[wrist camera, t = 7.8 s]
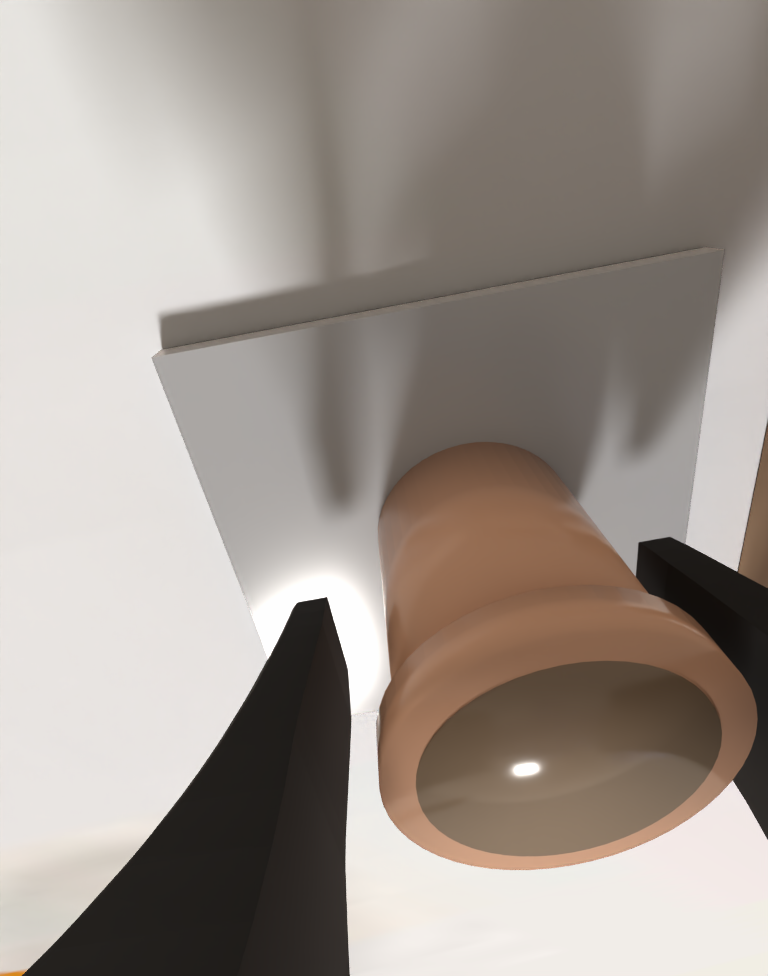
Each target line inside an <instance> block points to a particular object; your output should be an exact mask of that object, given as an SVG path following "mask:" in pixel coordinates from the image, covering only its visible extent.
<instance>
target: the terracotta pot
mask: <svg viewBox="0 0 768 976" xmlns="http://www.w3.org/2000/svg"><path fill="white" fill-rule="evenodd" d="M377 530H378V549H379V560H380V570H381V580H382V591H383V601H384V612H385V622H386V633H387V643H388V653H389V664H390V674H391V682H390V683H389V685H388V687H387V689H386V690H385V693H384V695H383V698H382V701H381V703H380V706H379V710H378V716H377V721H376V736H377V754H378V771H379V788H380V794H381V798H382V802H383V805H384V807H385V809H386V811H387V813H388V816H389V817H390V819H391V820H392V821H393V823H394V824H395V825H396V827H397V828H398V829H399V830H400V831H401V832H402V833H403V834H404V835H405V836H406V837H407V838H409V839H410V840H411V841H413V842H414V843H416V844H417V845H419V846H420V847H422V848H423V849H425V850H428V851H430V852H432V853H434V854H436V855H438V856H441V857H443V858H446V859H449V860H452V861H455V862H459V863H463V864H467V865H471V866H477V867H484V868H490V869H504V870H534V869H547V868H556V867H563V866H570V865H575V864H580V863H585V862H589V861H594V860H597V859H601V858H604V857H608V856H612V855H615V854H618V853H620V852H623V851H626V850H629V849H632V848H634V847H637V846H639V845H641V844H644V843H646V842H648V841H651V840H653V839H655V838H657V837H659V836H661V835H663V834H664V833H666V832H668V831H670V830H672V829H674V828H675V827H677V826H679V825H680V824H682V823H683V822H685V821H687V820H688V819H690V818H691V817H692V816H694V815H695V814H697V813H698V812H699V811H701V810H702V809H703V808H705V807H706V806H707V805H708V804H709V803H710V802H711V801H713V800H714V799H715V798H716V797H717V796H718V795H719V794H720V793H721V792H722V791H723V790H724V789H725V788H726V787H727V786H728V785H729V783H730V782H731V781H732V780H733V779H734V777H735V776H736V775H737V773H738V772H739V770H740V769H741V767H742V766H743V764H744V762H745V760H746V759H747V757H748V755H749V753H750V751H751V748H752V745H753V742H754V739H755V736H756V729H757V720H758V718H757V707H756V702H755V699H754V696H753V693H752V690H751V688H750V686H749V685H748V683H747V682H746V680H745V678H744V677H743V675H742V674H741V673H740V671H739V670H738V669H737V668H736V667H735V665H734V664H733V663H732V662H731V661H730V659H729V658H728V657H727V656H726V655H725V653H724V652H723V651H722V650H721V649H720V647H719V646H718V645H717V644H716V643H715V641H714V640H713V639H712V638H711V637H710V635H709V634H708V633H707V632H706V631H705V629H704V628H703V627H702V626H701V625H700V624H699V623H698V622H697V621H696V620H695V619H694V618H693V617H692V616H691V615H689V614H688V613H686V612H685V611H683V610H682V609H681V608H679V607H678V606H676V605H674V604H672V603H670V602H668V601H666V600H664V599H662V598H660V597H657V596H654V595H651V594H649V593H648V592H647V591H646V590H645V588H644V587H643V586H642V584H641V583H640V582H639V580H638V579H637V578H636V576H635V575H634V574H633V573H632V571H631V570H630V569H629V567H628V566H627V565H626V563H625V562H624V561H623V560H622V558H621V557H620V556H619V554H618V553H617V552H616V550H615V549H614V548H613V546H612V545H611V544H610V543H609V541H608V540H607V539H606V537H605V536H604V535H603V533H602V532H601V531H600V529H599V528H598V527H597V526H596V524H595V523H594V522H593V520H592V519H591V518H590V516H589V515H588V514H587V513H586V511H585V510H584V509H583V507H582V506H581V505H580V503H579V502H578V501H577V499H576V498H575V497H574V496H573V494H572V493H571V492H570V490H569V489H568V488H567V486H566V485H565V484H564V483H563V481H562V480H561V479H560V477H559V476H558V475H557V473H556V472H555V471H554V470H553V469H552V468H551V467H550V466H549V465H548V464H547V463H546V462H545V461H543V460H542V459H541V458H539V457H538V456H536V455H535V454H533V453H531V452H529V451H527V450H525V449H522V448H519V447H517V446H513V445H509V444H504V443H496V442H474V443H468V444H461V445H458V446H454V447H450V448H447V449H445V450H442V451H440V452H437V453H435V454H433V455H431V456H429V457H428V458H426V459H424V460H422V461H421V462H419V463H418V464H417V465H415V466H414V467H412V468H411V469H410V470H409V471H408V472H407V473H406V474H405V475H404V476H403V477H402V478H401V479H400V480H399V481H398V482H397V484H396V485H395V486H394V487H393V489H392V490H391V492H390V493H389V495H388V497H387V499H386V501H385V503H384V505H383V507H382V510H381V514H380V517H379V522H378V529H377Z"/></svg>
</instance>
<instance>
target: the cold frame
mask: <svg viewBox="0 0 768 976" xmlns="http://www.w3.org/2000/svg"><path fill="white" fill-rule="evenodd" d="M738 573H740V574H742V575H744V576H746V577H747V578H749V579H751V580H753V581H755V582H757V583H759V584H761V585H763V586H765V587H766V588H768V426H767V431H766V436H765V441H764V446H763V451H762V456H761V461H760V466H759V471H758V476H757V481H756V486H755V491H754V496H753V501H752V506H751V511H750V515H749V520H748V525H747V530H746V535H745V540H744V545H743V550H742V555H741V560H740V565H739V570H738Z"/></svg>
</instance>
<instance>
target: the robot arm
mask: <svg viewBox="0 0 768 976" xmlns="http://www.w3.org/2000/svg"><path fill="white" fill-rule="evenodd" d="M636 578H637V579H638V580H639V582H640V583H641V584H642V586H643V587H644V588H645V590H646V591H647V592H648V593H649V594H651V595H654V596H657V597H660V598H662V599H664V600H666V601H668V602H670V603H672V604H674V605H676V606H678V607H679V608H681V609H682V610H683V611H685V612H686V613H688V614H689V615H691V616H692V617H693V618H694V619H695V620H696V621H697V622H698V623H699V624H700V625H701V626H702V627H703V628H704V629H705V631H706V632H707V633H708V634H709V635H710V637H711V638H712V639H713V640H714V641H715V643H716V644H717V645H718V646H719V647H720V649H721V650H722V651H723V652H724V653H725V655H726V656H727V657H728V658H729V659H730V661H731V662H732V663H733V664H734V665H735V667H736V668H737V669H738V670H739V671H740V673H741V674H742V675H743V677H744V678H745V680H746V682H747V683H748V685H749V686H750V688H751V690H752V693H753V696H754V699H755V702H756V707H757V718H758V720H757V729H756V736H755V739H754V742H753V745H752V748H751V751H750V753H749V755H748V757H747V759H746V760H745V762H744V764H743V766H742V767H741V769H740V770H739V772H738V773H737V775H736V776H735V777H734V779H733V781H734V783H735V785H736V786H737V788H738V789H739V791H740V792H741V794H742V796H743V797H744V799H745V800H746V802H747V804H748V805H749V807H750V809H751V811H752V812H753V814H754V816H755V818H756V820H757V821H758V823H759V825H760V827H761V829H762V830H763V832H764V834H765V836H766V837H767V839H768V588H766V587H765V586H763V585H761V584H759V583H757V582H755V581H753V580H751V579H749V578H747V577H746V576H744V575H742V574H740V573H738V572H736V571H734V570H733V569H731V568H729V567H727V566H725V565H723V564H721V563H720V562H718V561H716V560H714V559H712V558H710V557H708V556H707V555H705V554H703V553H701V552H699V551H697V550H695V549H693V548H691V547H690V546H688V545H686V544H684V543H682V542H680V541H678V540H676V539H674V538H672V537H666V538H660V539H654V540H649V541H643V542H639V543H638V555H637V567H636ZM350 738H351V704H350V688H349V673H348V667H347V663H346V660H345V656H344V653H343V649H342V646H341V642H340V639H339V635H338V632H337V628H336V625H335V622H334V618H333V615H332V611H331V608H330V604H329V601H328V597H324V598H318V599H313V600H307V601H301V602H297V603H296V605H295V606H294V607H293V609H292V611H291V613H290V615H289V618H288V620H287V622H286V624H285V626H284V628H283V630H282V632H281V634H280V636H279V638H278V640H277V642H276V644H275V646H274V648H273V650H272V652H271V654H270V656H269V658H268V660H267V662H266V664H265V666H264V667H263V669H262V671H261V673H260V675H259V676H258V678H257V680H256V682H255V684H254V686H253V687H252V689H251V691H250V693H249V695H248V696H247V698H246V700H245V701H244V703H243V705H242V706H241V708H240V709H239V711H238V713H237V714H236V716H235V718H234V719H233V721H232V722H231V724H230V726H229V727H228V729H227V731H226V732H225V734H224V735H223V737H222V739H221V740H220V742H219V743H218V745H217V746H216V748H215V749H214V751H213V752H212V754H211V755H210V757H209V758H208V759H207V761H206V762H205V764H204V765H203V767H202V768H201V770H200V771H199V772H198V774H197V775H196V776H195V778H194V779H193V781H192V782H191V783H190V785H189V786H188V788H187V789H186V790H185V792H184V793H183V794H182V796H181V797H180V798H179V800H178V801H177V802H176V803H175V805H174V806H173V807H172V808H171V810H170V811H169V812H168V814H167V815H166V816H165V817H164V819H163V820H162V821H161V823H160V824H159V825H158V826H157V828H156V829H155V830H154V831H153V833H152V834H151V835H150V836H149V838H148V839H147V840H146V841H145V843H144V844H143V845H142V846H141V847H140V849H139V850H138V851H137V852H136V853H135V855H134V856H133V857H132V858H131V859H130V860H129V862H128V863H127V864H126V865H125V866H124V867H123V868H122V870H121V871H120V872H119V873H118V874H117V875H116V876H115V877H114V879H113V880H112V881H111V882H110V883H109V884H108V885H107V886H106V887H105V889H104V890H103V891H102V892H101V893H100V894H99V895H98V896H97V897H96V899H95V900H94V901H93V902H92V903H91V904H90V905H89V906H88V908H87V909H86V910H85V911H84V912H83V913H82V914H81V915H80V916H79V918H78V919H77V920H76V921H75V922H74V923H73V924H72V925H71V926H70V927H69V928H68V929H67V930H66V932H65V933H64V934H63V935H62V936H61V937H60V938H59V939H58V940H57V941H56V942H55V943H54V944H53V945H52V946H51V947H50V948H49V949H48V950H47V951H46V952H45V953H44V954H43V955H42V956H41V957H40V958H39V959H38V960H37V961H36V962H35V963H34V964H33V965H32V966H31V967H30V968H29V969H28V970H27V971H26V972H25V973H24V974H23V975H22V976H350V974H349V952H348V930H347V902H346V874H345V849H346V821H347V801H348V781H349V760H350Z"/></svg>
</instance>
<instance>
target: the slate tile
mask: <svg viewBox="0 0 768 976" xmlns="http://www.w3.org/2000/svg"><path fill="white" fill-rule="evenodd" d="M724 253H725V250H724V249H717V248H709V247H703V248H698V249H692V250H687V251H682V252H676V253H671V254H666V255H661V256H655V257H650V258H645V259H639V260H634V261H629V262H624V263H618V264H613V265H608V266H602V267H597V268H592V269H586V270H581V271H576V272H571V273H565V274H560V275H555V276H549V277H544V278H539V279H534V280H528V281H523V282H518V283H512V284H507V285H502V286H496V287H491V288H486V289H481V290H475V291H470V292H465V293H459V294H454V295H449V296H444V297H438V298H433V299H428V300H422V301H417V302H412V303H406V304H401V305H396V306H391V307H385V308H380V309H375V310H369V311H364V312H359V313H353V314H348V315H343V316H338V317H332V318H327V319H322V320H316V321H311V322H306V323H301V324H295V325H290V326H285V327H279V328H274V329H269V330H263V331H258V332H253V333H248V334H242V335H237V336H232V337H226V338H221V339H216V340H211V341H205V342H200V343H195V344H189V345H184V346H179V347H173V348H168V349H163V350H160V351H159V352H158V353H157V354H155V355H154V356H153V357H152V360H153V363H154V365H155V368H156V371H157V373H158V376H159V378H160V381H161V383H162V386H163V389H164V391H165V394H166V396H167V399H168V401H169V404H170V407H171V409H172V412H173V414H174V417H175V419H176V422H177V425H178V427H179V430H180V432H181V435H182V437H183V440H184V443H185V445H186V448H187V450H188V453H189V455H190V458H191V461H192V463H193V466H194V468H195V471H196V474H197V476H198V479H199V481H200V484H201V486H202V489H203V492H204V494H205V497H206V499H207V502H208V504H209V507H210V510H211V512H212V515H213V517H214V520H215V522H216V525H217V528H218V530H219V533H220V535H221V538H222V540H223V543H224V546H225V548H226V551H227V553H228V556H229V558H230V561H231V564H232V566H233V569H234V571H235V574H236V577H237V579H238V582H239V584H240V587H241V589H242V592H243V595H244V597H245V600H246V602H247V605H248V607H249V610H250V613H251V615H252V618H253V620H254V623H255V625H256V628H257V631H258V633H259V636H260V638H261V641H262V643H263V646H264V649H265V651H266V654H267V656H268V658H269V656H270V654H271V652H272V650H273V648H274V646H275V644H276V642H277V640H278V638H279V636H280V634H281V632H282V630H283V628H284V626H285V624H286V622H287V620H288V618H289V615H290V613H291V611H292V609H293V607H294V606H295V605H296V603H297V602H301V601H307V600H313V599H318V598H324V597H328V601H329V604H330V608H331V611H332V615H333V618H334V622H335V625H336V628H337V632H338V635H339V639H340V642H341V646H342V649H343V653H344V656H345V660H346V663H347V667H348V673H349V688H350V704H351V716H353V715H359V714H365V713H371V712H377V711H378V710H379V706H380V703H381V701H382V698H383V695H384V693H385V690H386V689H387V687H388V685H389V683H390V682H391V674H390V664H389V653H388V643H387V633H386V622H385V612H384V601H383V591H382V580H381V570H380V560H379V549H378V530H377V529H378V522H379V517H380V514H381V510H382V507H383V505H384V503H385V501H386V499H387V497H388V495H389V493H390V492H391V490H392V489H393V487H394V486H395V485H396V484H397V482H398V481H399V480H400V479H401V478H402V477H403V476H404V475H405V474H406V473H407V472H408V471H409V470H410V469H411V468H412V467H414V466H415V465H417V464H418V463H419V462H421V461H422V460H424V459H426V458H428V457H429V456H431V455H433V454H435V453H437V452H440V451H442V450H445V449H447V448H450V447H454V446H458V445H461V444H468V443H474V442H496V443H504V444H509V445H513V446H517V447H519V448H522V449H525V450H527V451H529V452H531V453H533V454H535V455H536V456H538V457H539V458H541V459H542V460H543V461H545V462H546V463H547V464H548V465H549V466H550V467H551V468H552V469H553V470H554V471H555V472H556V473H557V475H558V476H559V477H560V479H561V480H562V481H563V483H564V484H565V485H566V486H567V488H568V489H569V490H570V492H571V493H572V494H573V496H574V497H575V498H576V499H577V501H578V502H579V503H580V505H581V506H582V507H583V509H584V510H585V511H586V513H587V514H588V515H589V516H590V518H591V519H592V520H593V522H594V523H595V524H596V526H597V527H598V528H599V529H600V531H601V532H602V533H603V535H604V536H605V537H606V539H607V540H608V541H609V543H610V544H611V545H612V546H613V548H614V549H615V550H616V552H617V553H618V554H619V556H620V557H621V558H622V560H623V561H624V562H625V563H626V565H627V566H628V567H629V569H630V570H631V571H632V573H633V574H634V575H635V576H636V567H637V555H638V543H639V542H643V541H649V540H654V539H660V538H666V537H672V538H674V539H676V540H678V541H680V542H682V543H684V544H685V542H686V534H687V527H688V519H689V512H690V504H691V497H692V490H693V482H694V475H695V467H696V460H697V453H698V445H699V438H700V430H701V423H702V416H703V408H704V401H705V393H706V386H707V378H708V371H709V364H710V356H711V349H712V341H713V334H714V327H715V319H716V312H717V304H718V297H719V290H720V282H721V275H722V267H723V260H724Z"/></svg>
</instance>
